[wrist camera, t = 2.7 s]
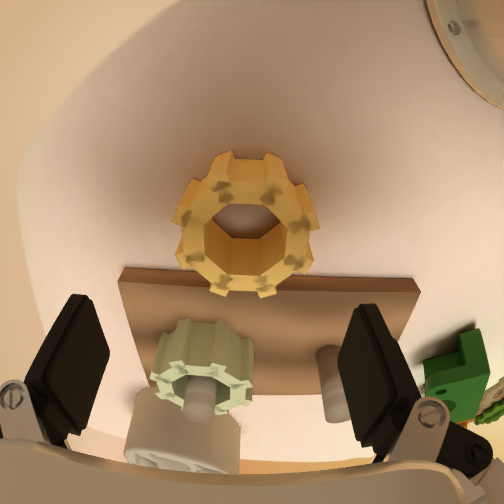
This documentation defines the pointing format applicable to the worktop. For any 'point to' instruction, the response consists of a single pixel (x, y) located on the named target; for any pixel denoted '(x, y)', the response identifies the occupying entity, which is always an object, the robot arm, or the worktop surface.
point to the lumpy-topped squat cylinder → (180, 438)
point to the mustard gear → (242, 249)
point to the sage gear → (204, 363)
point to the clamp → (459, 376)
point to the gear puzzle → (489, 406)
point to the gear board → (264, 328)
